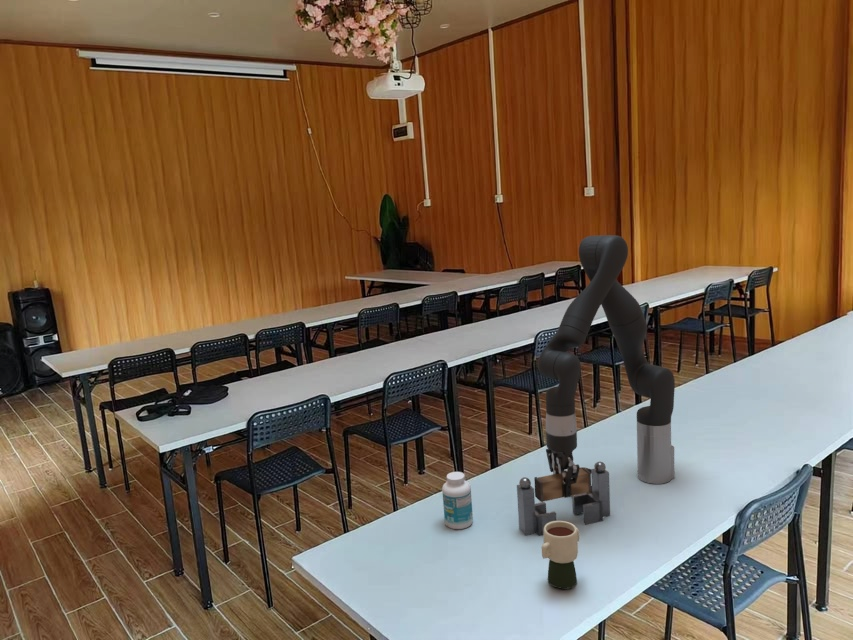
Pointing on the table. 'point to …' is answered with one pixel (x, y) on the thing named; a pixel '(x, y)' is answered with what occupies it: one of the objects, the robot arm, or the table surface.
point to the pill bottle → (457, 501)
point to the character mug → (561, 553)
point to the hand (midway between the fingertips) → (563, 493)
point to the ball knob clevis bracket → (586, 503)
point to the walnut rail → (552, 485)
